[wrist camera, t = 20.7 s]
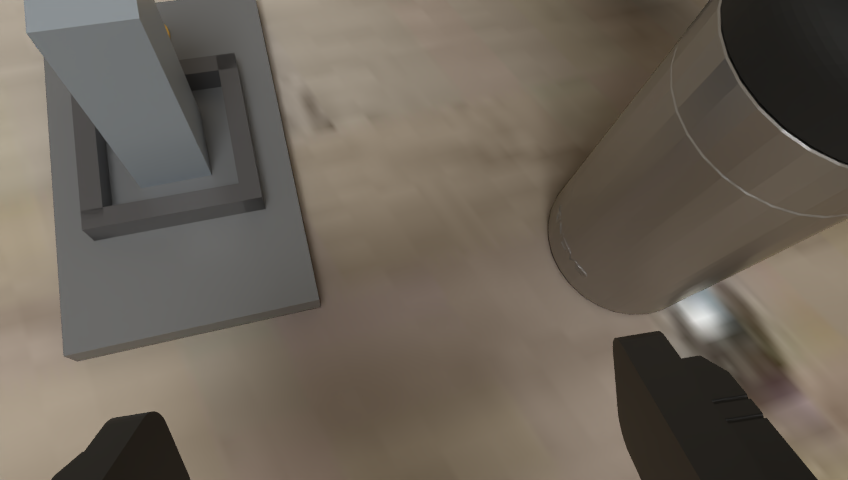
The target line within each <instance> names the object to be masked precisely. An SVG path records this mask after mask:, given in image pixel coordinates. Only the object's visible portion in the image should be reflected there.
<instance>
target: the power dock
mask: <svg viewBox="0 0 848 480" xmlns="http://www.w3.org/2000/svg"><path fill="white" fill-rule="evenodd" d="M155 4H156V6H157V9H158V11H159V13H160V16H161V18H162V21H163V23H164V26H165V28H166V30H167V33H168V35H169V38H170V40H171V43H172V45H173V47H174V50H175V52H176V55H177V57H178V60H179V62H180V64H181V67H182V69H183V72H184V74H185V77H186V79H187V81H188V84H189V86H190V89H191V91H192V94H193V96H194V98H195V101H196V103H197V106H198V108H199V111H200V114H201V119H202V125H203V130H204V136H205V141H206V147H207V152H208V158H209V163H210V169H211V174H212V175H210V176H204V177H199V178H194V179H188V180H183V181H177V182H172V183H167V184H161V185H156V186H151V187H145V188H140V186H139V185H138V184H137V182H136V181H135V179H134V178H133V177H132V175H131V174H130V173H129V171H128V170H127V169H126V167H125V166H124V165H123V163H122V162H121V161H120V159H119V158H118V156H117V155H116V154H115V152H114V151H113V150H112V148H111V147H110V146H109V144H108V143H107V142H106V140H105V139H104V137H103V136H102V135H101V133H100V132H99V131H98V129H97V128H96V127H95V125H94V124H93V123H92V121H91V120H90V119H89V117H88V116H87V114H86V113H85V112H84V110H83V109H82V108H81V106H80V105H79V104H78V102H77V101H76V100H75V98H74V97H73V95H72V94H71V93H70V91H69V90H68V89H67V87H66V86H65V85H64V83H63V82H62V81H61V79H60V78H59V77H58V75H57V74H56V72H55V71H54V70H53V68H52V67H51V66H50V64H49V63H48V62H47V60H46V59H45V58H44V68H45V83H46V98H47V113H48V128H49V143H50V158H51V173H52V188H53V203H54V218H55V233H56V248H57V263H58V278H59V293H60V308H61V323H62V338H63V353H64V356H65V357H67V358H70V359H72V360H75V361H81V360H86V359H90V358H95V357H99V356H104V355H108V354H113V353H117V352H122V351H126V350H130V349H135V348H139V347H144V346H148V345H153V344H157V343H162V342H166V341H171V340H175V339H180V338H184V337H189V336H193V335H198V334H202V333H207V332H211V331H215V330H220V329H224V328H229V327H233V326H238V325H242V324H247V323H251V322H256V321H260V320H265V319H269V318H274V317H278V316H283V315H287V314H292V313H296V312H300V311H305V310H309V309H314V308H318V307H320V301H319V296H318V291H317V287H316V282H315V277H314V272H313V268H312V263H311V258H310V254H309V249H308V244H307V239H306V235H305V230H304V225H303V221H302V216H301V211H300V207H299V202H298V197H297V192H296V188H295V183H294V178H293V174H292V169H291V164H290V159H289V155H288V150H287V145H286V141H285V136H284V131H283V126H282V122H281V117H280V112H279V108H278V103H277V98H276V93H275V89H274V84H273V79H272V75H271V70H270V65H269V60H268V56H267V51H266V46H265V42H264V37H263V32H262V27H261V23H260V18H259V13H258V9H257V4H256V0H176V1H167V2H158V3H155Z"/></svg>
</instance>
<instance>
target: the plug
mask: <svg viewBox="0 0 848 480" xmlns="http://www.w3.org/2000/svg"><path fill="white" fill-rule="evenodd" d="M24 9H25V21H26V33H27V35H28V36H29V37H30V39H31V40H32V41H33V43H34V44H35V45H36V47H37V48H38V49H39V51H40V52H41V53H42V55H43V56H44V58H45V59H46V60H47V62H48V63H49V64H50V66H51V67H52V68H53V70H54V71H55V72H56V74H57V75H58V77H59V78H60V79H61V81H62V82H63V83H64V85H65V86H66V87H67V89H68V90H69V91H70V93H71V94H72V95H73V97H74V98H75V100H76V101H77V102H78V104H79V105H80V106H81V108H82V109H83V110H84V112H85V113H86V114H87V116H88V117H89V119H90V120H91V121H92V123H93V124H94V125H95V127H96V128H97V129H98V131H99V132H100V133H101V135H102V136H103V137H104V139H105V140H106V142H107V143H108V144H109V146H110V147H111V148H112V150H113V151H114V152H115V154H116V155H117V156H118V158H119V159H120V161H121V162H122V163H123V165H124V166H125V167H126V169H127V170H128V171H129V173H130V174H131V175H132V177H133V178H134V179H135V181H136V182H137V184H138V185H139V186H140V188H145V187H151V186H156V185H161V184H167V183H172V182H177V181H183V180H188V179H194V178H199V177H204V176H210V175H212V174H211V169H210V163H209V158H208V152H207V147H206V141H205V136H204V130H203V125H202V119H201V114H200V111H199V108H198V106H197V103H196V101H195V98H194V96H193V94H192V91H191V89H190V86H189V84H188V81H187V79H186V77H185V74H184V72H183V69H182V67H181V64H180V62H179V60H178V57H177V55H176V52H175V50H174V47H173V45H172V43H171V40H170V38H169V35H168V33H167V30H166V28H165V26H164V23H163V21H162V18H161V16H160V13H159V11H158V9H157V6H156V4H155V1H154V0H24Z"/></svg>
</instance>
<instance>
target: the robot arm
mask: <svg viewBox="0 0 848 480" xmlns="http://www.w3.org/2000/svg"><path fill="white" fill-rule="evenodd" d="M846 219H848V0H710V1H709V2H708V3H707V4H706V6H705V7H704V8H703V10H702V11H701V12H700V13H699V15H698V16H697V17H696V19H695V20H694V21H693V22H692V24H691V25H690V26H689V28H688V29H687V30H686V32H685V33H684V34H683V36H682V37H681V38H680V40H679V41H678V42H677V43H676V45H675V46H674V47H673V49H672V50H671V51H670V52H669V54H668V55H667V56H666V58H665V59H664V60H663V61H662V63H661V64H660V65H659V66H658V68H657V69H656V70H655V72H654V73H653V74H652V75H651V77H650V78H649V79H648V81H647V82H646V83H645V84H644V86H643V87H642V88H641V90H640V91H639V92H638V93H637V95H636V96H635V97H634V98H633V100H632V101H631V102H630V104H629V105H628V106H627V107H626V109H625V110H624V111H623V113H622V114H621V115H620V116H619V118H618V119H617V120H616V122H615V123H614V124H613V125H612V127H611V128H610V129H609V130H608V132H607V133H606V134H605V136H604V137H603V138H602V139H601V141H600V142H599V143H598V145H597V146H596V147H595V148H594V150H593V151H592V152H591V154H590V155H589V156H588V157H587V159H586V160H585V161H584V162H583V164H582V165H581V166H580V168H579V169H578V170H577V172H576V173H575V174H574V175H573V177H572V178H571V179H570V181H569V182H568V183H567V184H566V186H565V187H564V188H563V190H562V191H561V192H560V193H559V195H558V196H557V198H556V200H555V202H554V204H553V206H552V209H551V213H550V218H549V223H548V229H549V242H550V246H551V250H552V254H553V256H554V258H555V261H556V263H557V265H558V267H559V269H560V271H561V272H562V273H563V275H564V276H565V278H566V279H567V280H568V282H569V283H570V284H571V285H572V286H573V287H574V288H575V289H576V290H577V291H578V292H579V293H580V294H582V295H583V296H584V297H586V298H587V299H589V300H590V301H592V302H593V303H595V304H597V305H599V306H601V307H604V308H606V309H609V310H611V311H614V312H619V313H624V314H630V315H633V314H649V313H652V312H656V311H660V310H663V309H665V308H667V307H669V306H671V305H673V304H675V303H677V302H679V301H681V300H683V299H685V298H687V297H689V296H691V295H693V294H695V293H697V292H700V291H702V290H704V289H706V288H708V287H710V286H712V285H714V284H716V283H718V282H720V281H722V280H724V279H726V278H728V277H730V276H732V275H734V274H736V273H738V272H740V271H742V270H745V269H747V268H749V267H751V266H753V265H755V264H757V263H759V262H761V261H763V260H765V259H767V258H769V257H771V256H773V255H775V254H777V253H779V252H781V251H783V250H785V249H787V248H789V247H791V246H793V245H795V244H797V243H799V242H801V241H803V240H805V239H807V238H809V237H811V236H813V235H815V234H817V233H819V232H821V231H823V230H825V229H828V228H830V227H832V226H834V225H836V224H838V223H840V222H842V221H844V220H846ZM613 357H614V369H615V382H616V394H617V406H618V416H619V422H620V427H621V431H622V435H623V438H624V441H625V444H626V447H627V450H628V452H629V454H630V456H631V458H632V461H633V463H634V465H635V467H636V469H637V472H638V474H639V476H640V478H641V480H817V478H816V477H815V476H814V475H813V474H812V472H811V471H810V470H809V469H808V467H807V466H806V465H805V464H804V463H803V461H802V460H801V459H800V458H799V457H798V455H797V454H796V453H795V452H794V451H793V449H792V448H791V447H790V446H789V445H788V443H787V442H786V441H785V440H784V438H783V437H782V436H781V435H780V434H779V432H778V431H777V430H776V429H775V428H774V426H773V425H772V424H771V423H770V422H769V420H768V419H767V418H764V417H763V413H762V412H761V411H760V409H759V408H758V407H757V406H756V405H755V403H754V402H753V401H752V400H751V399H748V397H747V394H746V393H745V391H744V390H743V389H742V388H741V386H740V385H739V384H738V383H737V382H736V380H735V379H734V378H733V377H732V376H731V374H730V373H729V372H727V371H726V370H724V369H722V368H721V367H719V366H717V365H715V364H714V363H712V362H710V361H709V360H707V359H705V358H703V357H702V356H695V357H688V358H682V359H681V358H680V356H679V355H678V354H677V352H676V351H675V349H674V348H673V347H672V345H671V344H670V343H669V341H668V340H667V338H666V337H665V336H664V334H663V333H662V332H660V331H656V332H649V333H643V334H637V335H631V336H625V337H618V338H615V339H614V341H613ZM51 480H190V477H189V475H188V472H187V470H186V468H185V465H184V463H183V461H182V459H181V456H180V454H179V452H178V449H177V447H176V445H175V442H174V440H173V438H172V435H171V433H170V431H169V428H168V426H167V424H166V422H165V420H164V418H163V417H162V416H161V415H160V414H159V413H157V412H147V413H141V414H135V415H129V416H123V417H116V418H112V419H110V420H109V421H107V422H106V423H105V425H104V426H103V427H102V429H101V430H100V431H99V433H98V434H97V435H96V437H95V438H94V439H93V441H92V442H91V443H90V445H89V446H88V447H87V449H86V450H85V451H84V452H82V453H81V454H80V455H78V456H77V457H76V458H75V459H74V460H72V461H71V462H70V463H69V464H68V465H67V466H65V467H64V468H63V469H62V470H61V471H59V472H58V473H57V474H56V475H55V476H54V477H53V478H52V479H51Z"/></svg>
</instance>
